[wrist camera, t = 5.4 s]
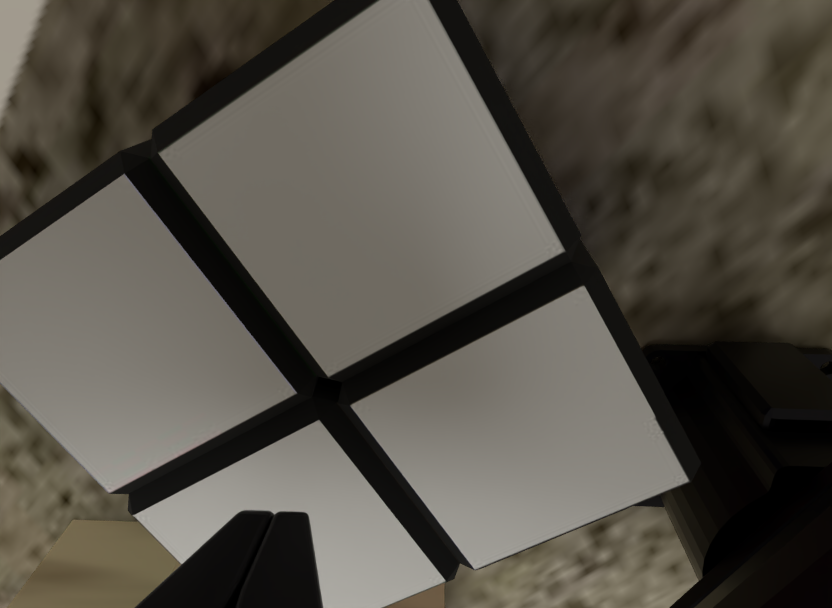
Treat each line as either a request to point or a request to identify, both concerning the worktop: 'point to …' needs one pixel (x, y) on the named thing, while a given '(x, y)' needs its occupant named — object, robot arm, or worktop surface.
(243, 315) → the puzzle cube
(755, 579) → the robot arm
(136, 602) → the maple block
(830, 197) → the worktop surface
